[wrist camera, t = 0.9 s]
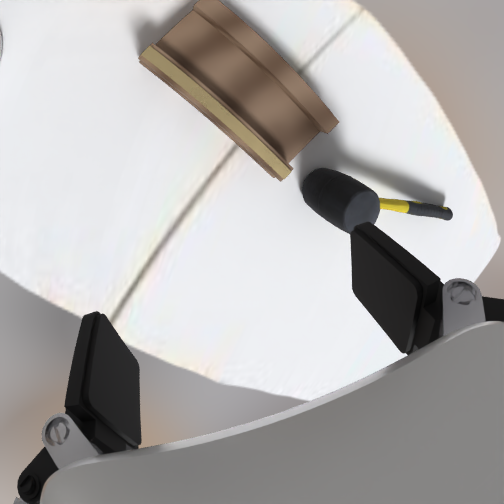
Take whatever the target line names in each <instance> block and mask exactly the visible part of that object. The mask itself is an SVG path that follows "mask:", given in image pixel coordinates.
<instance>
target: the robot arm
mask: <svg viewBox="0 0 504 504" xmlns="http://www.w3.org/2000/svg"><path fill="white" fill-rule="evenodd" d="M1 55H2V36H1V31H0V59H1ZM350 238H351V261H352V289H353V292H354V294H355V296H356V297H357V298H358V300H359V301H360V302H361V303H362V304H363V306H364V307H365V308H366V309H367V310H368V312H369V313H370V314H371V315H372V317H373V318H374V319H375V320H376V322H377V323H378V324H379V325H380V326H381V328H382V329H383V330H384V331H385V333H386V334H387V335H388V336H389V338H390V339H391V340H392V342H393V343H394V344H395V345H396V347H397V348H398V349H399V350H400V352H402V353H406V354H407V355H408V356H406V357H404V358H402V359H400V360H398V361H396V362H395V363H393V364H391V365H389V366H387V367H385V368H383V369H381V370H379V371H377V372H375V373H373V374H371V375H369V376H367V377H365V378H362V379H360V380H358V381H356V382H354V383H352V384H350V385H347V386H345V387H343V388H341V389H338V390H336V391H334V392H331V393H329V394H326V395H324V396H322V397H319V398H317V399H314V400H312V401H309V402H307V403H304V404H302V405H299V406H296V407H294V408H291V409H288V410H286V411H283V412H280V413H277V414H274V415H271V416H268V417H265V418H262V419H259V420H256V421H253V422H249V423H246V424H243V425H239V426H236V427H233V428H229V429H226V430H222V431H218V432H215V433H211V434H207V435H203V436H199V437H194V438H190V439H186V440H181V441H177V442H172V443H166V444H161V445H156V446H151V447H145V448H140V449H138V445H140V444H141V424H140V423H141V422H140V387H139V364H138V362H137V360H136V359H135V357H134V356H133V354H132V353H131V352H130V350H129V349H128V347H127V346H126V345H125V343H124V342H123V340H122V339H121V338H120V336H119V335H118V333H117V332H116V330H115V329H114V327H113V326H112V324H111V323H110V321H109V320H108V318H107V317H106V316H105V314H100V313H99V312H98V311H96V312H93V313H90V314H87V315H84V316H83V318H82V323H81V327H80V330H79V334H78V338H77V343H76V347H75V351H74V356H73V361H72V366H71V371H70V376H69V381H68V388H67V393H66V399H65V408H66V412H65V414H64V413H58V414H55V415H53V416H52V417H50V418H49V419H48V420H47V422H46V423H45V425H44V427H43V430H42V441H43V443H44V445H45V447H44V448H43V449H42V450H41V451H40V453H39V454H38V455H37V456H36V457H35V458H34V459H33V461H32V462H31V463H30V464H29V465H28V466H27V468H25V470H24V471H23V472H22V473H21V475H20V477H19V479H18V486H17V488H18V493H19V495H20V499H19V498H17V497H16V499H15V501H14V504H504V299H497V298H489V297H482V295H481V292H480V289H479V288H478V287H477V286H476V285H475V284H474V283H473V282H471V281H469V280H466V279H461V278H457V279H452V280H449V281H448V282H446V283H445V285H444V284H443V283H442V282H441V281H440V278H439V277H438V276H437V275H436V274H434V273H433V272H432V271H431V270H430V269H429V268H427V267H426V266H425V265H424V264H423V263H421V262H420V261H419V260H418V259H417V258H415V257H414V256H413V255H412V254H410V253H409V252H408V251H407V250H405V249H404V248H403V247H402V246H400V245H399V244H398V243H397V242H395V241H394V240H393V239H392V238H390V237H389V236H388V235H386V234H385V233H384V232H383V231H381V230H380V229H379V228H377V227H376V226H375V225H373V224H372V223H371V222H369V221H368V222H364V223H361V224H358V225H356V226H354V229H353V231H351V233H350Z"/></svg>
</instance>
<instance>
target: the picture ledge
mask: <svg viewBox="0 0 504 504" xmlns="http://www.w3.org/2000/svg"><path fill="white" fill-rule="evenodd" d="M139 60H140V61H139V62H140V63H141V64H142V65H143V66H144V67H146V68H147V69H148V70H149V71H151V72H152V73H153V74H154V75H156V76H157V77H158V78H160V79H161V80H162V81H163V82H164V83H166V84H167V85H168V86H169V87H171V88H172V89H173V90H174V91H176V92H177V93H178V94H179V95H180V96H182V97H183V98H184V99H185V100H186V101H188V102H189V103H190V104H191V105H192V106H194V107H195V108H196V109H197V110H198V111H200V112H201V113H202V114H203V115H204V116H205V117H207V118H208V119H209V120H210V121H211V122H212V123H213V124H215V125H216V126H217V127H218V128H219V129H220V130H221V131H223V132H224V133H225V134H226V135H227V136H228V137H229V138H230V139H232V140H233V141H234V142H235V143H236V144H237V145H238V146H239V147H240V148H242V149H243V150H244V151H245V152H246V153H247V154H248V155H249V156H250V157H251V158H252V159H254V160H255V161H256V162H257V163H258V164H259V165H260V166H261V167H262V168H263V169H264V170H265V171H266V172H267V173H268V174H270V175H271V176H272V177H273V178H275V177H276V178H277V179H278V180H279V181H282V180H283V179H285V178H286V177H287V176H288V175H289V174H290V173H291V171H292V170H293V168H292V167H291V166H290V165H289V164H288V163H289V162H290V161H291V160H292V159H293V158H294V157H295V156H296V155H297V154H298V153H299V152H300V151H301V150H302V149H303V148H304V147H305V146H306V145H307V144H308V143H309V142H310V141H311V140H312V139H313V138H314V137H315V136H316V135H317V134H318V133H319V132H324V133H327V134H328V133H329V132H330V131H331V130H332V129H333V128H334V127H335V126H336V125H337V124H338V123H339V121H338V120H337V118H336V117H335V116H334V115H333V114H332V112H331V111H330V110H329V109H328V108H327V106H326V105H325V104H324V103H323V102H322V100H321V99H320V98H319V97H318V96H317V95H316V94H315V92H314V91H313V90H312V89H311V88H310V87H309V86H308V85H307V84H306V82H305V81H304V80H303V79H302V78H301V77H300V76H299V75H298V74H297V73H296V72H295V71H294V70H293V68H292V67H291V66H290V65H289V64H288V63H287V62H286V61H285V60H284V59H283V58H282V57H281V56H280V55H279V54H278V53H277V52H276V51H275V50H274V49H273V48H272V47H271V46H270V45H269V44H268V43H267V42H266V41H264V40H263V39H262V38H261V37H260V36H259V35H258V34H257V33H256V32H255V31H254V30H253V29H252V28H250V27H249V26H248V25H247V24H246V23H245V22H244V21H243V20H241V19H240V18H239V17H238V16H237V15H236V14H234V13H233V12H232V11H231V10H230V9H229V8H227V7H226V6H225V5H224V4H222V3H221V2H220V1H219V0H199V1H198V2H197V3H196V4H194V7H193V10H192V11H191V12H190V13H189V14H188V15H186V16H185V17H184V18H183V19H182V20H181V21H180V22H179V23H178V24H176V25H175V26H174V27H173V28H172V29H171V30H170V31H169V32H168V33H167V34H166V35H165V36H164V37H163V38H162V39H161V40H160V41H159V42H158V43H157V44H156V45H155V44H153V43H152V44H151V45H150V46H148V48H147V49H146V50H145V51H144V52H143V53H142V54H141V55H140V56H139Z"/></svg>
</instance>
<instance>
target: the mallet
mask: <svg viewBox="0 0 504 504" xmlns="http://www.w3.org/2000/svg"><path fill="white" fill-rule="evenodd" d="M302 194H303V198H304V201H305V202H306V203H307V205H308V206H310V207H311V208H312V209H313V210H314V211H315V212H316V213H317V214H319V215H320V216H321V217H323V218H324V219H325V220H327V221H328V222H330V223H331V224H333V225H334V226H336V227H338V228H339V229H341V230H343V231H345V232H347V233H349V234H350V233H351V231H353V229H354V226H356V225H358V224H361V223H364V222H368V221H369V222H371V223H372V224H373V225H374V224H375V222H376V220H377V218H378V215H379V212H380V209H387V210H393V211H397V212H403V213H408V214H411V215H417V216H427V217H435V218H440V219H444V220H450V219H452V216H453V213H452V211H451V209H449V208H448V207H443V206H436V205H431V204H427V203H422V202H417V201H405V200H398V199H385V198H378V195H377V194H376V193H375V192H374V191H373V190H371V189H370V188H369V187H367V186H366V185H364V184H362V183H361V182H359V181H358V180H356V179H354V178H352V177H351V176H348V175H346V174H343V173H341V172H338V171H334V170H330V169H326V168H320V169H316V170H314V171H313V172H311V173H310V174H309V175H308V176H307V178H306V180H305V181H304V184H303V188H302Z"/></svg>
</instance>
